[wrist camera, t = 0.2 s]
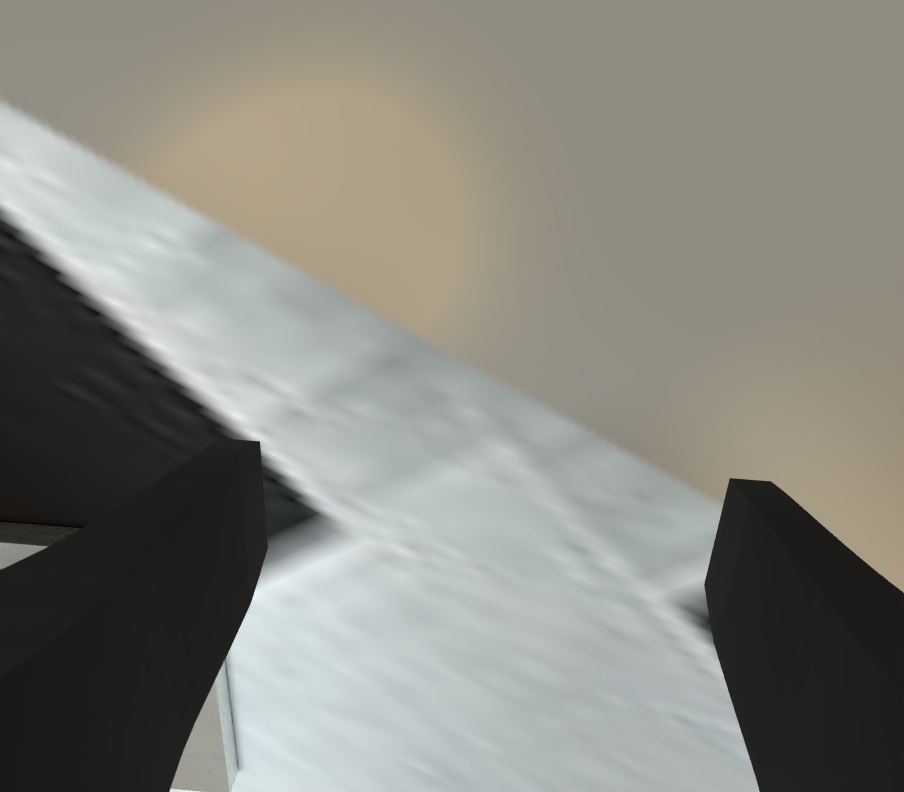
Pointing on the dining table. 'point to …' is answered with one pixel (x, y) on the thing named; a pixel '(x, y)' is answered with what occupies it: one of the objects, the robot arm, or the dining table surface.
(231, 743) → the stand
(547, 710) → the dining table surface
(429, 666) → the dining table surface
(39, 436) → the dining table surface
